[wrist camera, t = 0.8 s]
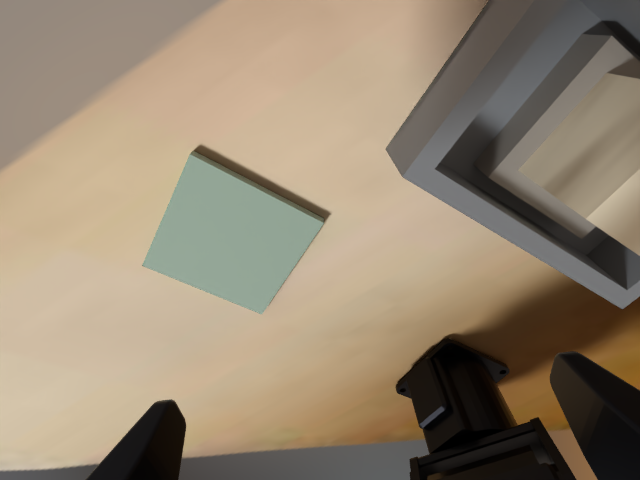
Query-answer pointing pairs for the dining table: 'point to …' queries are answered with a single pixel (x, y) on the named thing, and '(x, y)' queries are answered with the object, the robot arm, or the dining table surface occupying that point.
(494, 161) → the box
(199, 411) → the dining table surface
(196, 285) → the pad
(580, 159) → the birch block
